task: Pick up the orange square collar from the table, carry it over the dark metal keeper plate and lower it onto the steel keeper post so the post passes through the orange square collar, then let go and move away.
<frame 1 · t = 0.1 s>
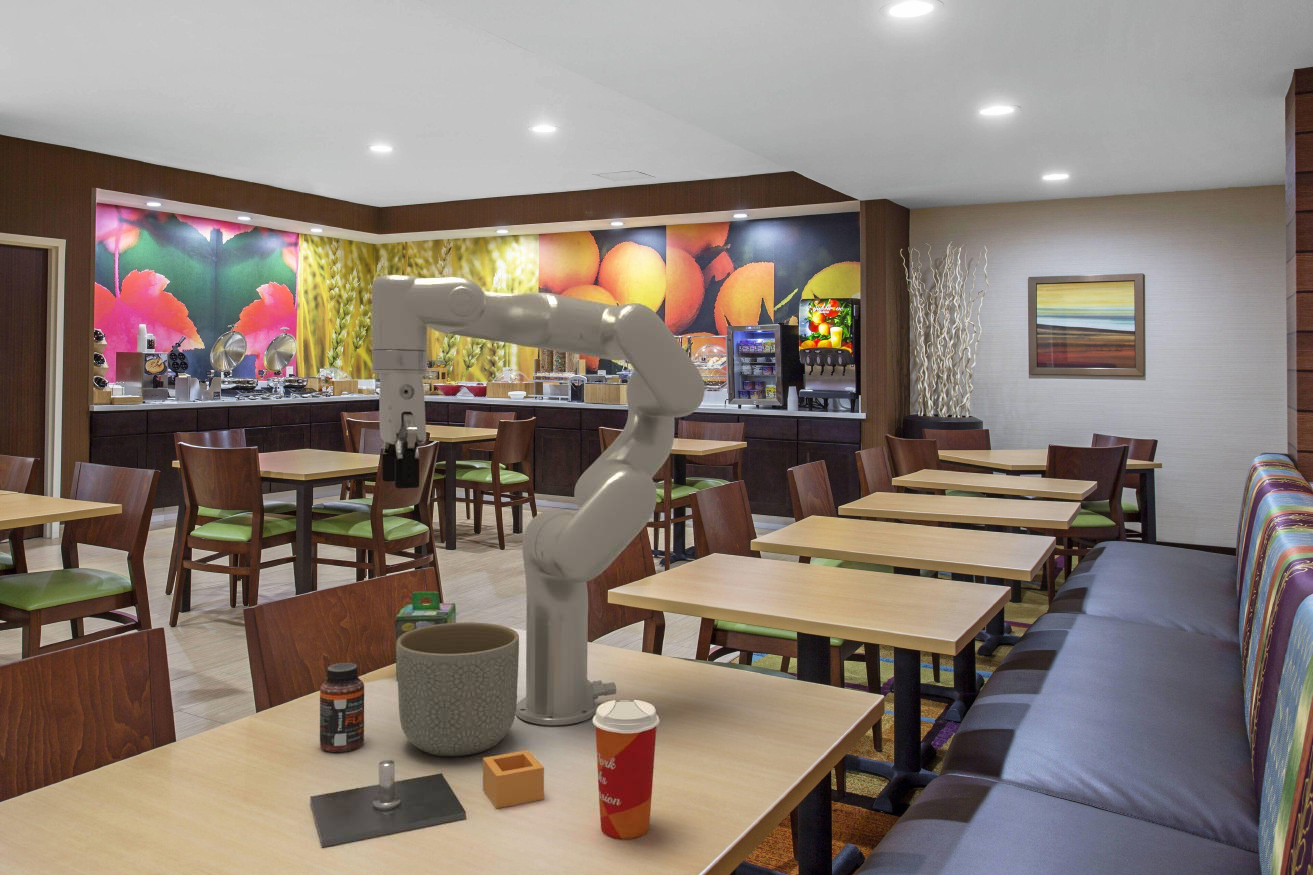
hand: (400, 484, 131), 37 cm above the table, tool pointing down, fingers open, 9 cm apart
orange square collar: (512, 793, 115), on the table
keeper plate: (386, 810, 110), on the table
paper cup: (625, 829, 107), on the table
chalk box: (426, 674, 163), on the table
supplement bottle: (342, 746, 130), on the table
planter: (458, 744, 131), on the table
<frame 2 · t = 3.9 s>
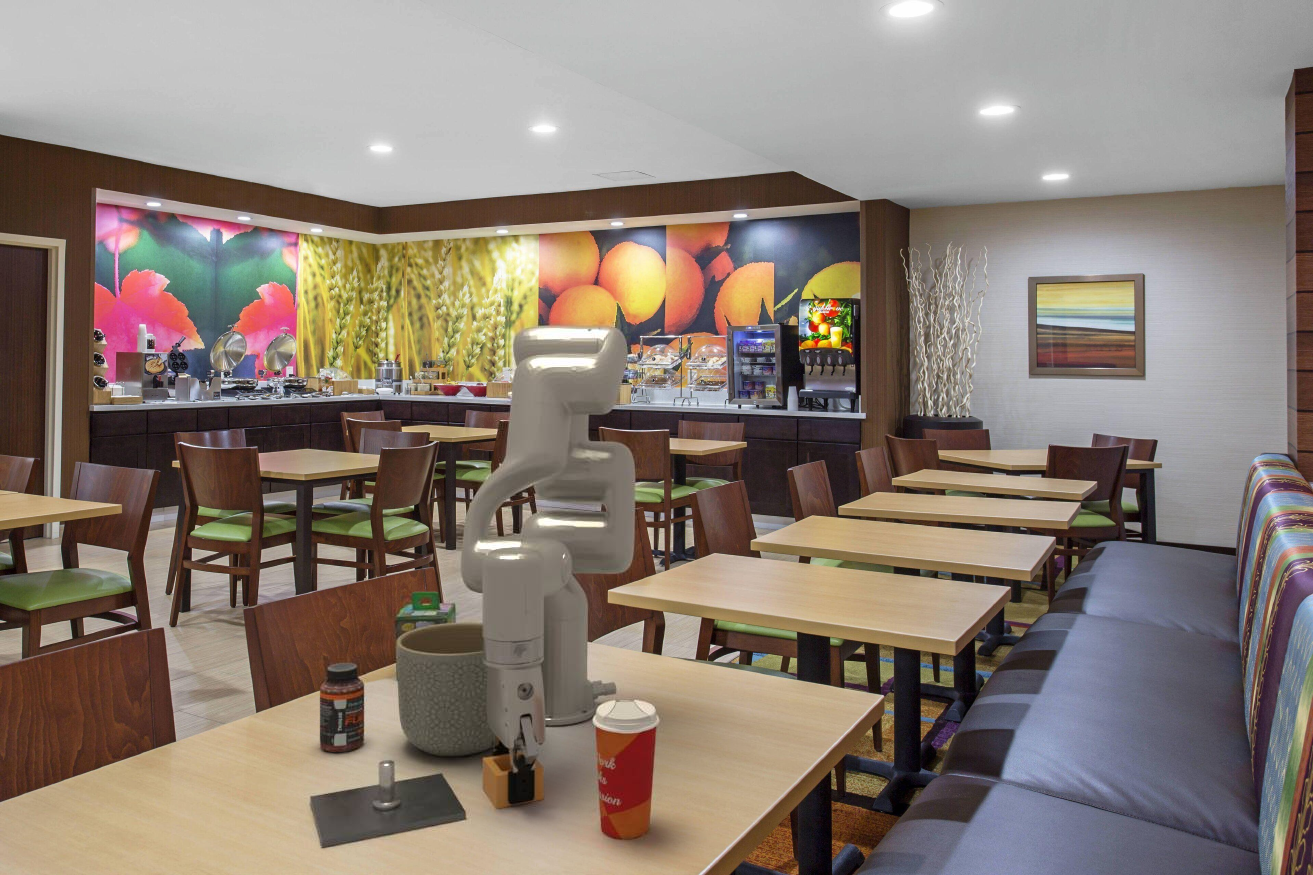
hand: (512, 789, 115), 1 cm above the table, tool pointing down, fingers closed on orange square collar, 6 cm apart
orange square collar: (512, 793, 115), on the table, touching gripper
everything else where it was.
when the fingers open (3 cm above the table, at t = 9.3 s): orange square collar drops 2 cm, resting on keeper plate.
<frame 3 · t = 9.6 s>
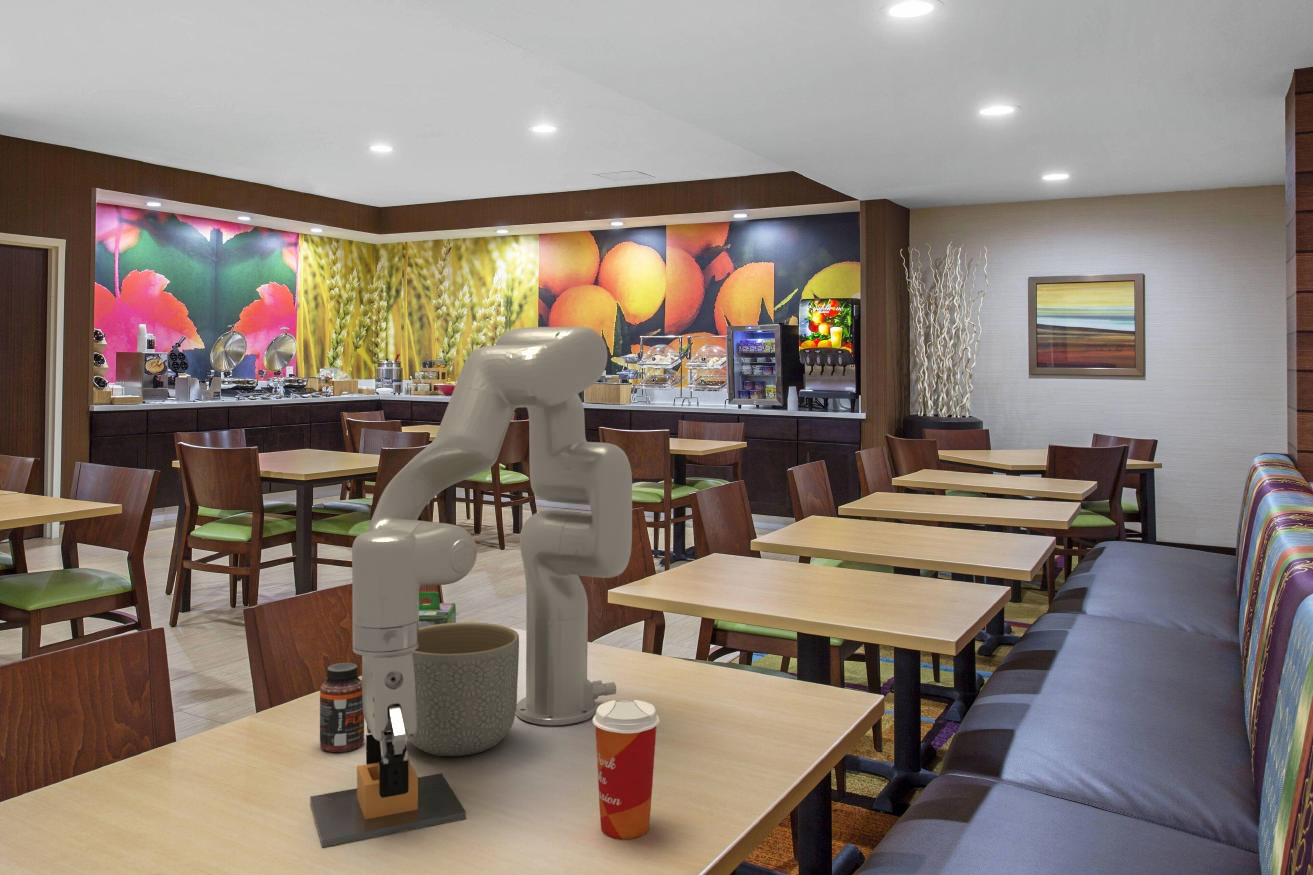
hand: (386, 778, 110), 4 cm above the table, tool pointing down, fingers open, 8 cm apart
orange square collar: (387, 803, 110), point 1 cm above the table, touching keeper plate
everything else where it was.
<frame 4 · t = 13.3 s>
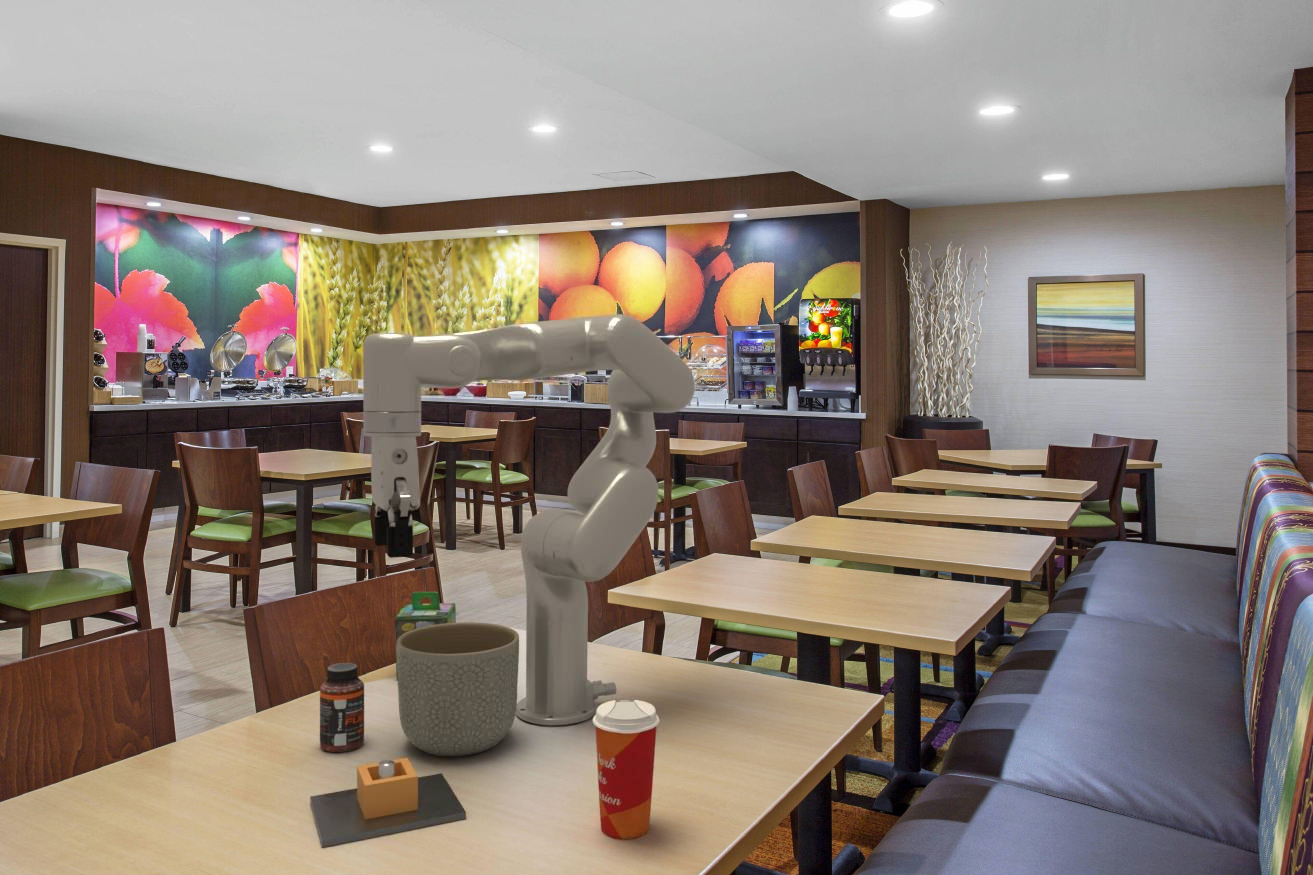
hand: (393, 550, 126), 28 cm above the table, tool pointing down, fingers open, 9 cm apart
nothing on the table moved.
at the end: orange square collar 0.1 cm off-centre on the keeper plate, point 0.8 cm above the keeper plate's base; the gripper is holding nothing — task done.
